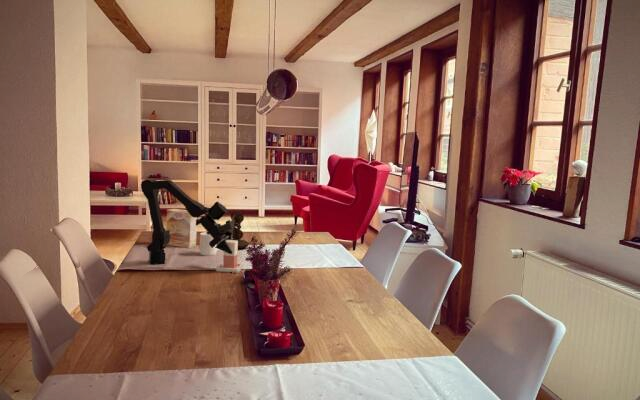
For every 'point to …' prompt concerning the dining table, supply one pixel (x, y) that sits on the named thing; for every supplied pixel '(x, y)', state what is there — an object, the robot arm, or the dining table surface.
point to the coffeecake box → (181, 228)
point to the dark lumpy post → (238, 229)
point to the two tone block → (231, 255)
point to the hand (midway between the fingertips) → (233, 252)
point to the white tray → (233, 270)
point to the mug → (206, 245)
